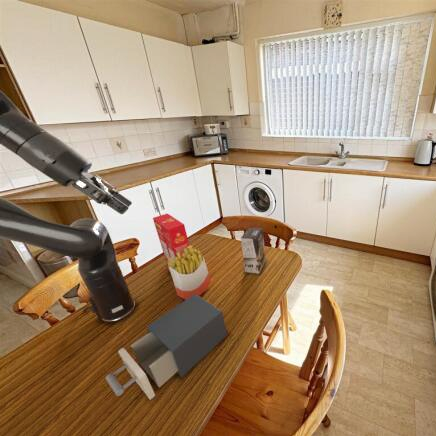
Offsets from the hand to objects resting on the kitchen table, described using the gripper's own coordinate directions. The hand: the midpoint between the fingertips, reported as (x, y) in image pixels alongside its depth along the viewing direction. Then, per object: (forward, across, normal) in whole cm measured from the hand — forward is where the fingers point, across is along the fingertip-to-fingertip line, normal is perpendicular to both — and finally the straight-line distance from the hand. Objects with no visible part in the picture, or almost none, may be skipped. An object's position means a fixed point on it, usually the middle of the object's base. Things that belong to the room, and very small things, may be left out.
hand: (127, 208), depth 59 cm
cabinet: (+36, +6, -19) cm, 41 cm away
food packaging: (+32, -28, -15) cm, 45 cm away
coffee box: (+50, -18, +6) cm, 54 cm away
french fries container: (+36, -15, -14) cm, 41 cm away
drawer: (+30, +10, -27) cm, 42 cm away
